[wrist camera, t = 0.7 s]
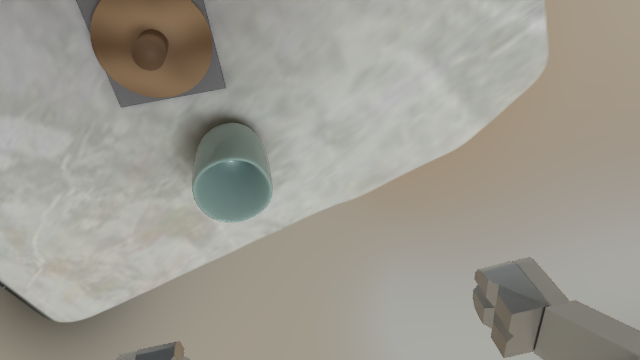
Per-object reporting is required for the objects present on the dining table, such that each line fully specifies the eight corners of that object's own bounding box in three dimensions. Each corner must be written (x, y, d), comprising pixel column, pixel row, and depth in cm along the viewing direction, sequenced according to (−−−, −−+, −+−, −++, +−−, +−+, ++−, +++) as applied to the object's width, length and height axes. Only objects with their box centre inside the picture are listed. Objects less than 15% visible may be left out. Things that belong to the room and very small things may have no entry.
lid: (72, -10, 39) (56, 1, 35) (195, -29, 40) (192, -21, 36) (119, 103, 45) (110, 121, 42) (224, 83, 46) (224, 100, 43)
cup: (274, 157, 53) (284, 206, 45) (215, 180, 53) (214, 233, 45) (249, 102, 49) (254, 146, 40) (184, 127, 49) (177, 176, 41)
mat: (71, -17, 39) (69, -16, 39) (193, -36, 40) (193, -35, 40) (122, 105, 46) (121, 107, 46) (225, 86, 47) (225, 88, 47)
